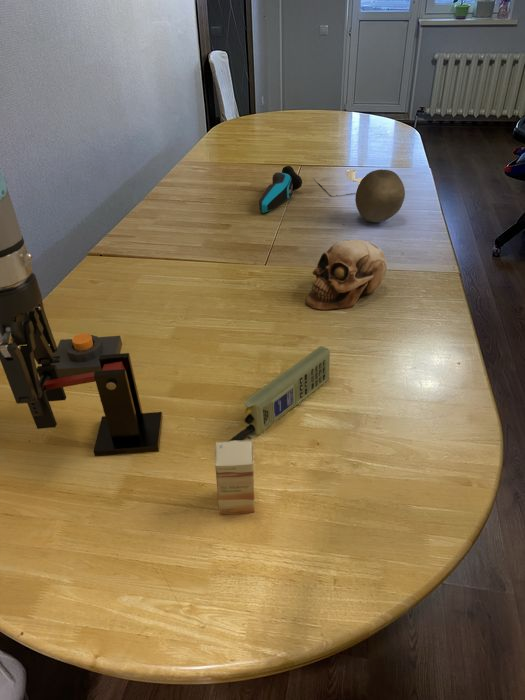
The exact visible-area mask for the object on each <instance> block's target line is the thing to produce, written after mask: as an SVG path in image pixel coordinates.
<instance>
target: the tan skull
mask: <svg viewBox="0 0 525 700" xmlns="http://www.w3.org/2000/svg"><path fill="white" fill-rule="evenodd" d="M386 259H387V258H386V256H385V254H384V252H383V251H382V250H381V248H380V247H378V246H377V245H375V244H374V243H372V242H370V241H366V240H363V239H347V240H341V241H337V242H335V243H333V245H331V246H330V247H329V248H328V250H327V251H325V252H323V253H322V254H321V256H320V258H319V260H318V262H317V265H316V267H315V269H314V270H312V275H313V276H315V279H314V280H313V282H312V285H311V290H310V291H309V292H308V294H307V295H306V297H305V299H304V303H305V304H306V305H308V306H309V307H310V308H312V309H316V310H321V311H327V310H334V309H337V310H340V309H342V308H346V309H348V308H352V307H353V306H354V305H355V304H356V303H357V301H358V300H359V298H360V296H367V295H371V294H372V293H373V292H375V291H376V290H377V289H378V288H379V287H380V286H381V284H382V283H383V281H384V279H385V276H386V272H387V267H388V265H387V260H386Z"/></svg>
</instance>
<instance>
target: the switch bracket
mask: <svg viewBox="0 0 525 700" xmlns="http://www.w3.org/2000/svg"><path fill="white" fill-rule="evenodd" d="M121 361H122V363H123V365H124V368H125V369H119V370H106V371H95V373H94V378H95V382H94V383H95V386H96V389H97V392H98V396H99V399H100V402H101V406H102V410H103V414H104V415H102V416H101V419H100V423H99V427H98V431H97V433H96V438H95V442H94V447H93V449H92V451H93V456H94V457H107V456H118V455H128V454H142V453H154V452H159V451H160V443H161V434H162V427H163V426H162V425H163V412H162V411H153V412H143V409H142V405H141V400H140V395H139V391H138V386H137V383H136V377H135V374H134V369H133V364H132V360H131V356H130V353H129V352H123V353H120V354H108V355H100V356H99V362H100V365H101V369H103V366H104V364H109V363H115V362H121Z"/></svg>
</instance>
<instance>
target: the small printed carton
mask: <svg viewBox="0 0 525 700" xmlns="http://www.w3.org/2000/svg"><path fill="white" fill-rule="evenodd" d="M214 446H215V447H214V466H215V467H214V468H215V479H216V491H217V502H218V513H219V515H239V514H240V515H241V514H250V513H251V514H252V513H255V465H254V443H253V440H252V439H249V440H246V439H244V440H236V441H229V440H227V441H226V440H225V441H224V440H223V441H215V445H214Z"/></svg>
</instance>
